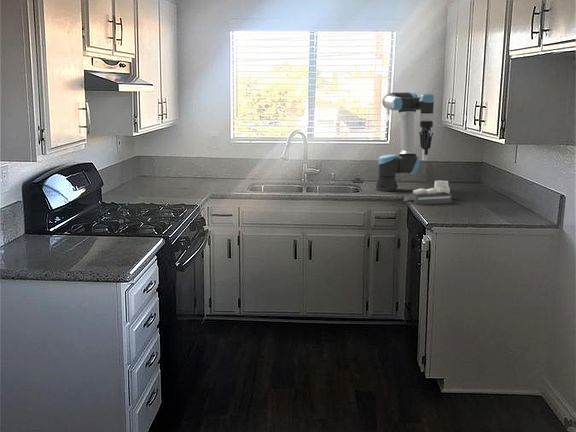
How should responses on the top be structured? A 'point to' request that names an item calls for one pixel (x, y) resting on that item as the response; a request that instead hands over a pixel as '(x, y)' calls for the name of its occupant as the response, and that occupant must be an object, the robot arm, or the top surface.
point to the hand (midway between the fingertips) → (424, 160)
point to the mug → (441, 185)
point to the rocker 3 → (442, 190)
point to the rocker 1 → (419, 191)
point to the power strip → (430, 198)
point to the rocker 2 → (431, 190)
